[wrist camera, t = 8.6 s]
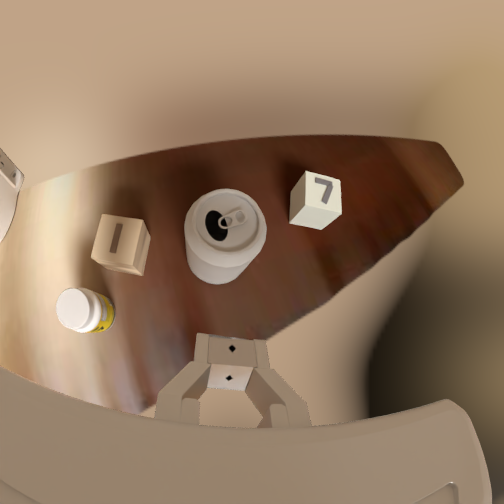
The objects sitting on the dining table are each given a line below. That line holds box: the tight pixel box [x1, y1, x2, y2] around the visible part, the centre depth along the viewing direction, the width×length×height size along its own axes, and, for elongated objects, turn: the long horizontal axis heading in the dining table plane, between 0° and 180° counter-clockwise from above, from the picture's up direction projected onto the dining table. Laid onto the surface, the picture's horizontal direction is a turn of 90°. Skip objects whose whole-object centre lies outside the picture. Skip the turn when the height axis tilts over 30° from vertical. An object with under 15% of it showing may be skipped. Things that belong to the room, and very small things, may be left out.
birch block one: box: [91, 214, 151, 276], centre depth 29 cm, size 5×5×6 cm
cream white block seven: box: [289, 171, 342, 230], centre depth 36 cm, size 5×5×6 cm
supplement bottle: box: [56, 288, 115, 333], centre depth 25 cm, size 5×5×8 cm
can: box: [184, 189, 267, 284], centre depth 28 cm, size 8×8×12 cm
